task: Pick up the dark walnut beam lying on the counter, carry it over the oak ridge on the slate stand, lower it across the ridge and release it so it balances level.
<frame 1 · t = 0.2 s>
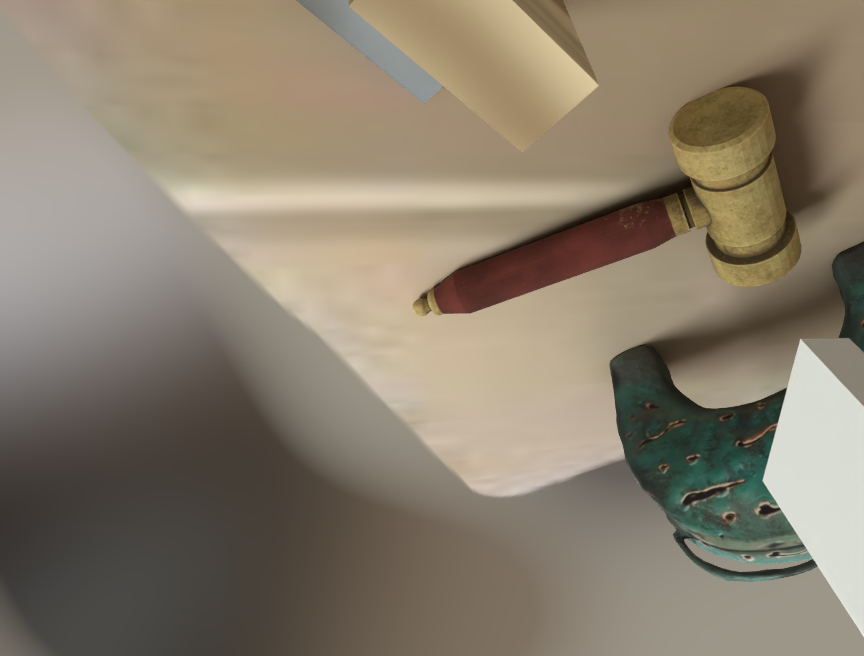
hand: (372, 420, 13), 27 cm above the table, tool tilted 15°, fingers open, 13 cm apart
ceramic cat: (751, 312, 51), on the table
gavel: (577, 225, 46), on the table
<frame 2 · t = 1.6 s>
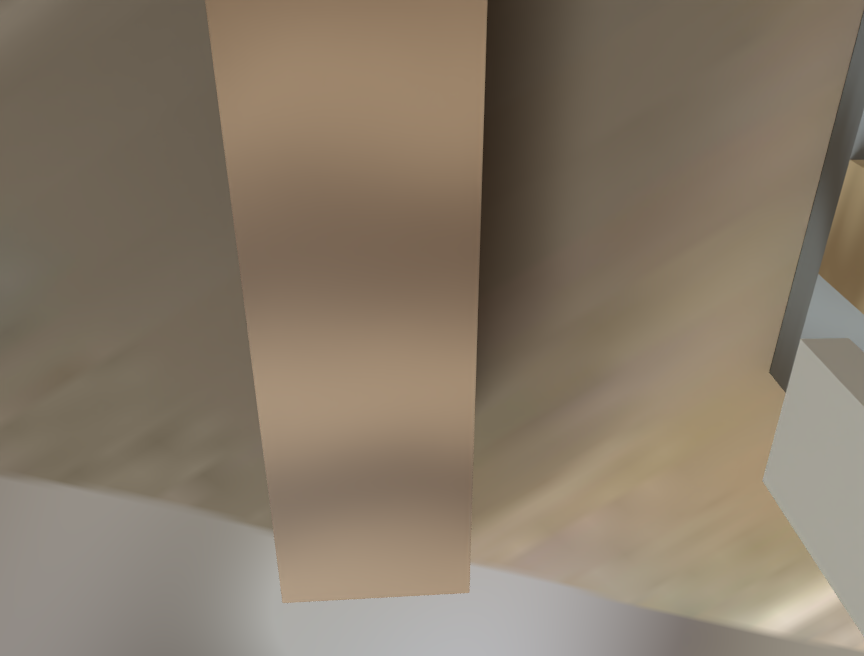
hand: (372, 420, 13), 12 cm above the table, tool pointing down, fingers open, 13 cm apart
walnut beam: (361, 154, 23), on the table
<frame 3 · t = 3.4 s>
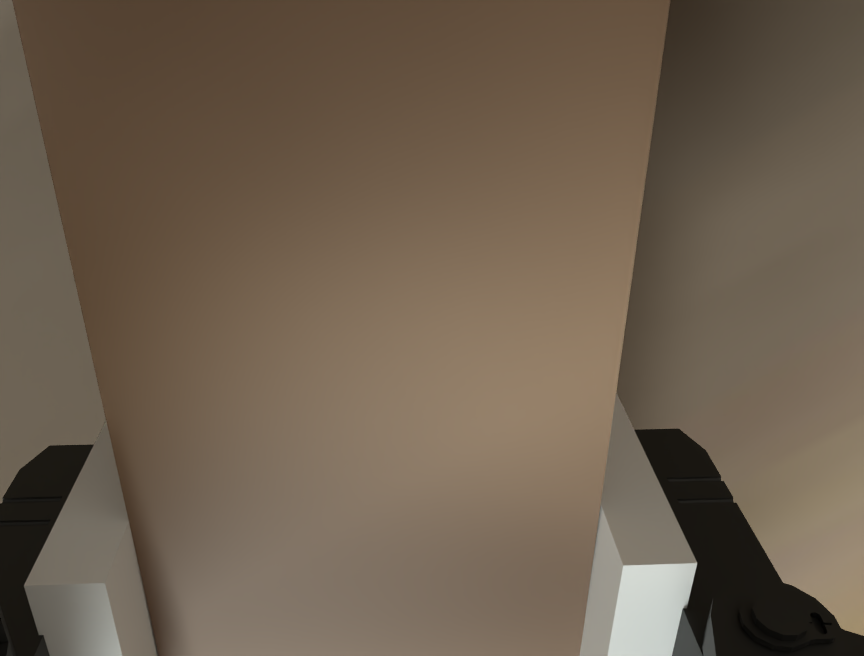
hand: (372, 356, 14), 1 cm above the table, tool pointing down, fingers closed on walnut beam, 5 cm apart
walnut beam: (372, 319, 15), on the table, touching gripper
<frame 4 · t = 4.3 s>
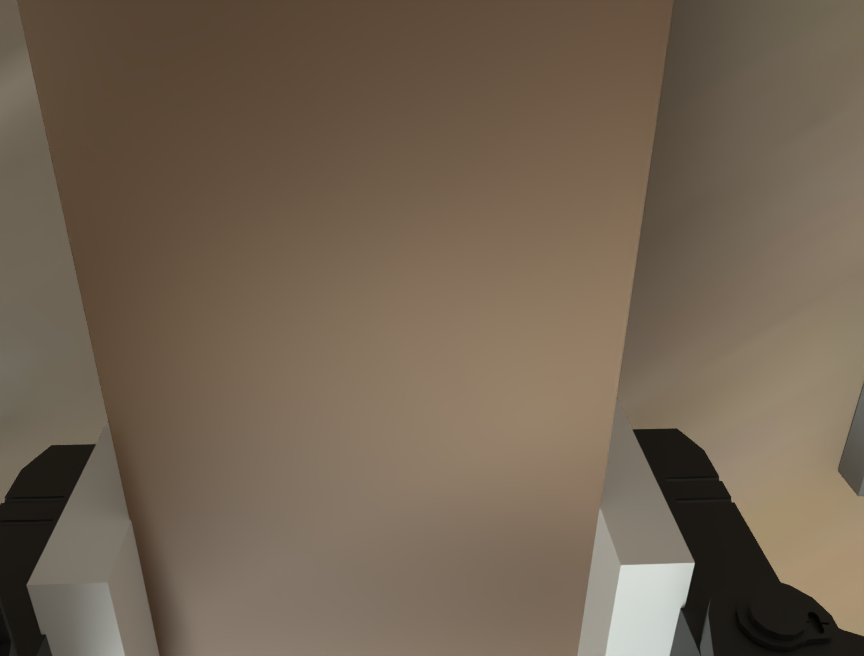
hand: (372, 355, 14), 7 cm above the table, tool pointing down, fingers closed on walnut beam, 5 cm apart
walnut beam: (372, 319, 15), point 6 cm above the table, touching gripper
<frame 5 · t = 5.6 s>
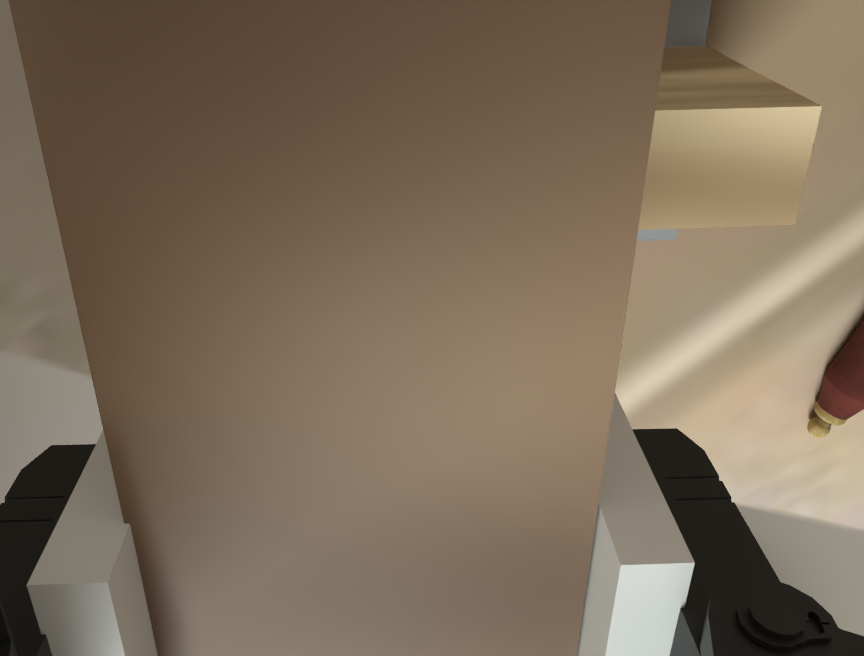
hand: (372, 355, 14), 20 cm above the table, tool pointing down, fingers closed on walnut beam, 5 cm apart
fulcrum: (586, 88, 32), on the table
walnut beam: (370, 323, 15), point 18 cm above the table, touching gripper
when the fingers open (12 cm above the table, at t = 7.9 s): walnut beam drops 1 cm, resting on fulcrum.
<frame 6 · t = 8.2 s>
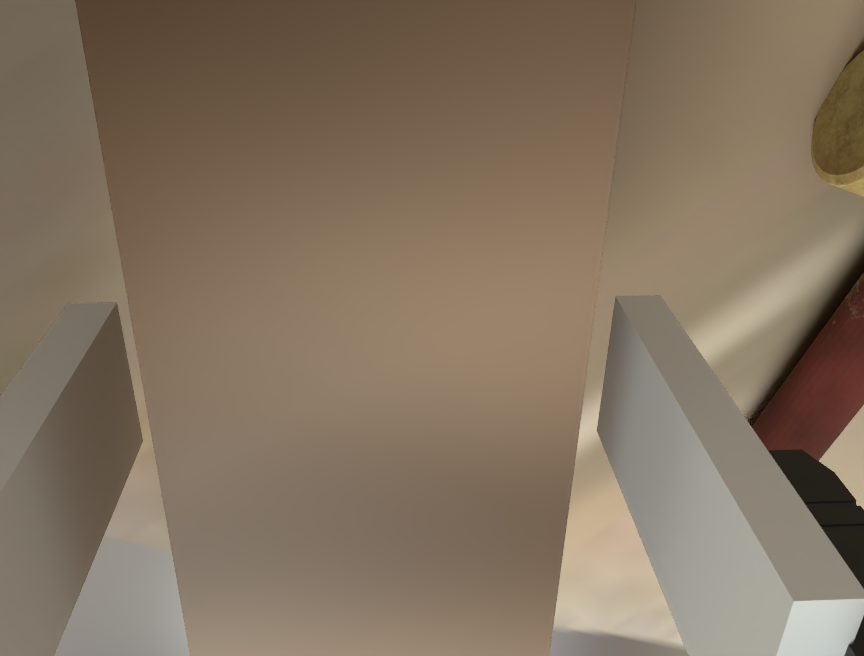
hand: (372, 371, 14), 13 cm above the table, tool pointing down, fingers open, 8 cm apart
walnut beam: (372, 294, 16), point 10 cm above the table, touching fulcrum
gavel: (812, 344, 30), on the table
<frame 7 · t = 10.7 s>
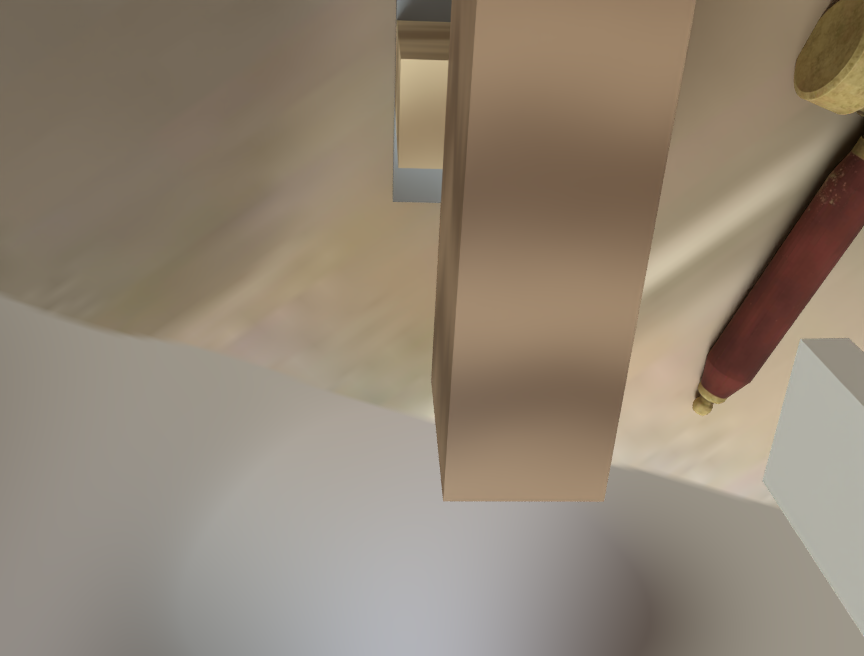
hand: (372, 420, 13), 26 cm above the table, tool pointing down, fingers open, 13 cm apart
fulcrum: (487, 62, 35), on the table
walnut beam: (521, 120, 27), point 10 cm above the table, touching fulcrum
gavel: (794, 234, 41), on the table
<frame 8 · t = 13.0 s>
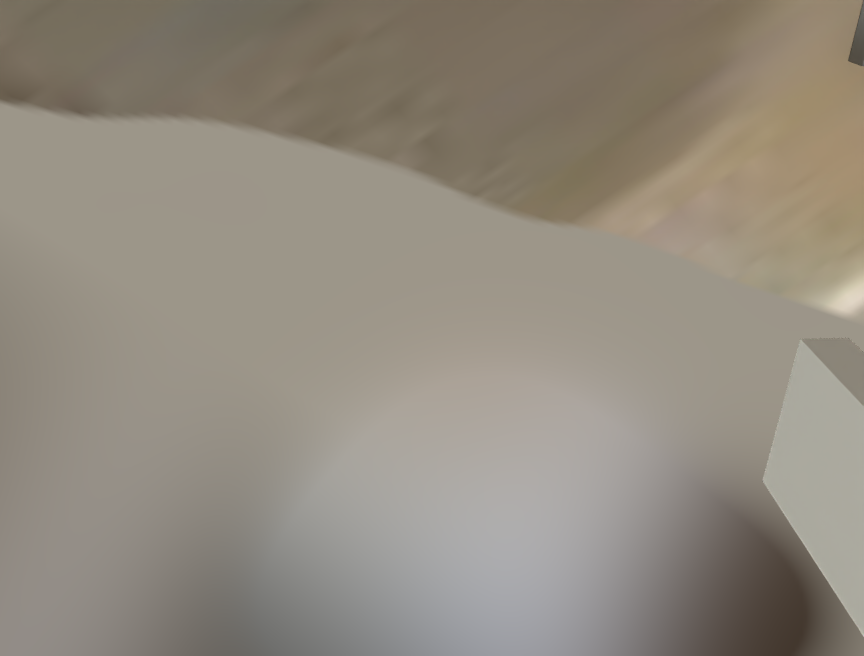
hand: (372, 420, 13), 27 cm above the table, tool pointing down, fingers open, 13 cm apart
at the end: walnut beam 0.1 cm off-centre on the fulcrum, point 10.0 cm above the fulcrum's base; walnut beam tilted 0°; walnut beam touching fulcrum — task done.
